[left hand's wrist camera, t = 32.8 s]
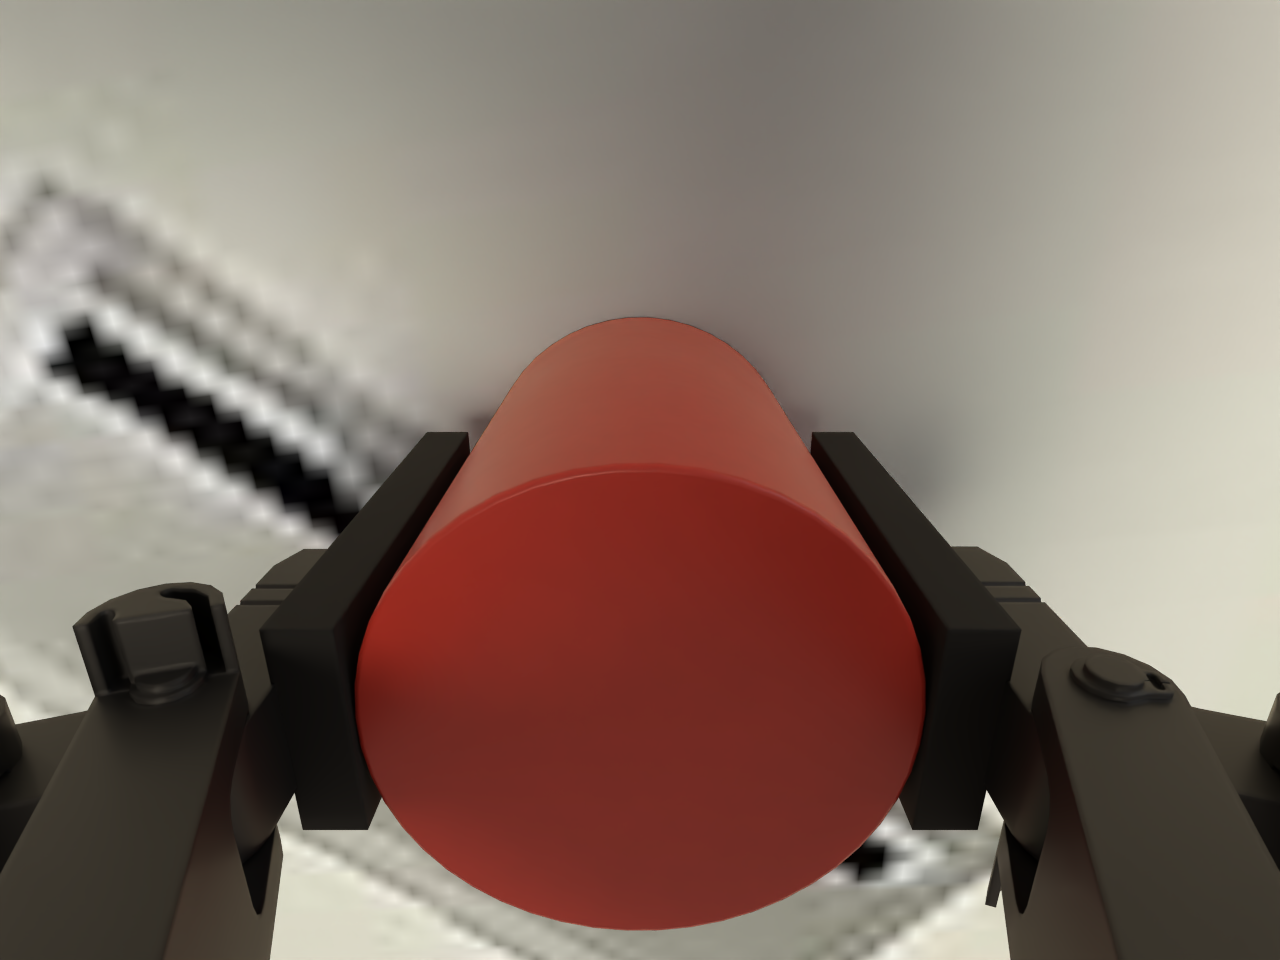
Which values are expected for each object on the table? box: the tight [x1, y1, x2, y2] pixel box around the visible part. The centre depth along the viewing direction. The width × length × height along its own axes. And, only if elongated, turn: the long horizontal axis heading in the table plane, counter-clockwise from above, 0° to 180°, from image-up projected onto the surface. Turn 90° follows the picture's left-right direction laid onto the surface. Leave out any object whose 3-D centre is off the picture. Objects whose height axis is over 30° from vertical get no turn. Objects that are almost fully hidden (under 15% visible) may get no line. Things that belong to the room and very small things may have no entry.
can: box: [355, 318, 926, 930], centre depth 12 cm, size 6×6×8 cm
